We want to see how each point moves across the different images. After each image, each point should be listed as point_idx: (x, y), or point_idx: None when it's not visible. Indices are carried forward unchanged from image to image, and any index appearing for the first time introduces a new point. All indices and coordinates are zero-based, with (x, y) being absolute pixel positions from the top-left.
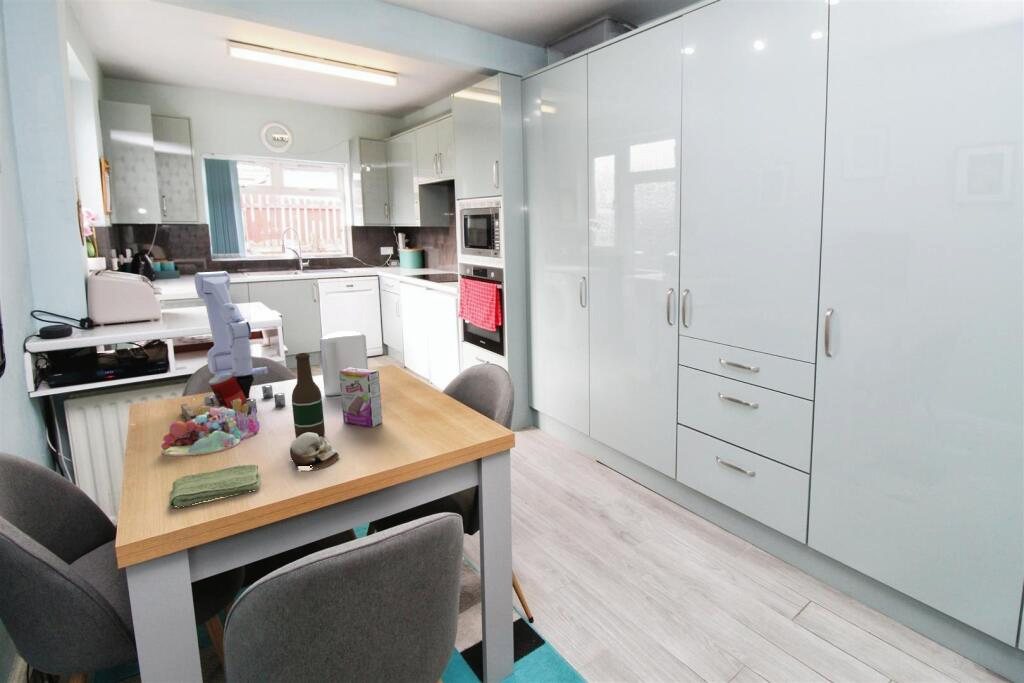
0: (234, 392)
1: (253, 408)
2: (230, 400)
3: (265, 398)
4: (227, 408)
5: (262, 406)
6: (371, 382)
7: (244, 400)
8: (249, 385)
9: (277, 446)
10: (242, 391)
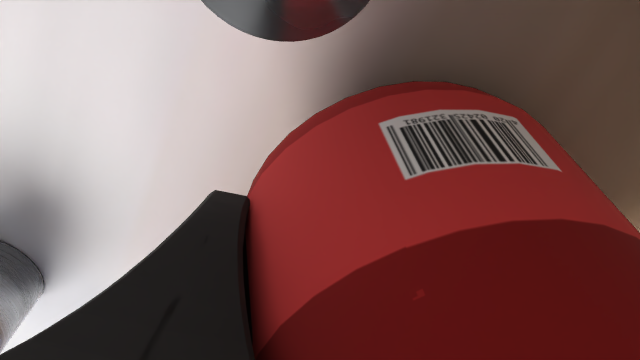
0: (490, 267)
1: None
2: (565, 178)
3: (26, 258)
4: (562, 148)
5: (112, 30)
6: None
7: (304, 148)
8: (92, 330)
9: None
10: (272, 293)
